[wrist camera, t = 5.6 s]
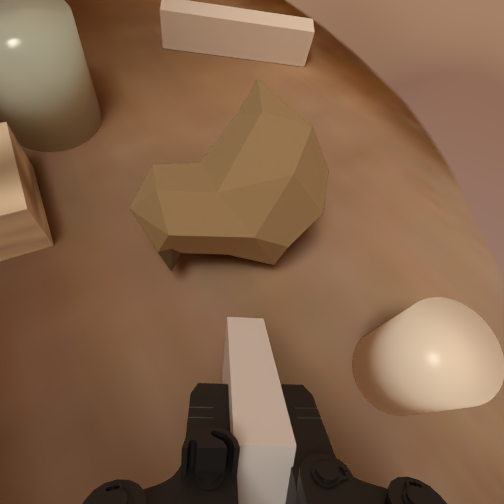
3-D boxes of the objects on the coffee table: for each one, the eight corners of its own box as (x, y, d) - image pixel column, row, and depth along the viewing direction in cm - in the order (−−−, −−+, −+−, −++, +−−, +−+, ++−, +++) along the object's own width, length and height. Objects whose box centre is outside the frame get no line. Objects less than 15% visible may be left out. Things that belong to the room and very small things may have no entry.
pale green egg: (7, 91, 33) (-50, -17, 26) (98, 86, 35) (70, -15, 27) (4, 156, 30) (-64, 54, 22) (104, 147, 32) (75, 50, 24)
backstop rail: (304, 66, 41) (314, 32, 38) (162, 48, 39) (159, 9, 36) (303, 54, 42) (312, 19, 39) (165, 35, 40) (162, -4, 37)
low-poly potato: (306, 172, 34) (211, 85, 30) (394, 144, 24) (269, 8, 20) (222, 307, 31) (103, 230, 27) (283, 338, 21) (109, 224, 17)
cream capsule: (340, 339, 27) (383, 308, 20) (409, 322, 28) (468, 288, 22) (372, 426, 24) (432, 420, 18) (446, 402, 25) (525, 390, 19)
